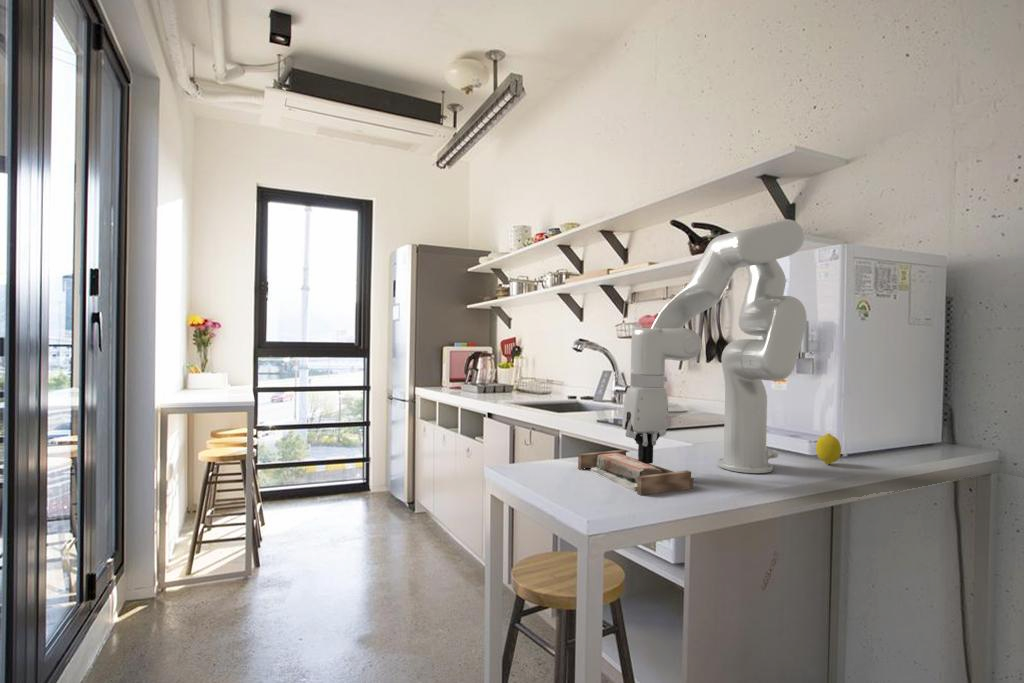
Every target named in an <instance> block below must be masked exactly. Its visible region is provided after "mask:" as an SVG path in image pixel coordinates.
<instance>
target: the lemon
mask: <svg viewBox="0 0 1024 683" xmlns="http://www.w3.org/2000/svg"><path fill="white" fill-rule="evenodd" d="M815 451H816V452H815V453H816V456H817V457H818V458H819V459H820V461H822V462H824V464H826V465H827V464H830V465H832V463H833V464H834V463H835V462H837V461H838V460H839V459H840V457H841V454H842V447H841V443H840V441H839V439H838V438H836V437H835V436H833V435H831V433H826V434H824V435H822V436H820V437H819V438H818V439H817V441H816V444H815Z"/></svg>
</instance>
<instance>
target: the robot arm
mask: <svg viewBox="0 0 1024 683" xmlns="http://www.w3.org/2000/svg"><path fill="white" fill-rule="evenodd" d="M804 241H805V232H804V229H803V227H802V226H801V224H799V223H798V222H797V221H796V220H793V219H788V218H786V219H780V220H777V221H772V222H769V223H764V224H760V225H755V226H752V227H749V228H745V229H741V230H737V231H733V232H729V233H724V234H720V235H718V236H716V237H714V238H713V239H712V240H711V241H710V242H709V243H708V244H707V246H706V248H705V250H704V252H703V254H702V256H701V257H700V259H699V261H698V263H697V264H696V267H695V269H694V270H693V272H692V275H691V276H690V278H689V280H688V281H687V283H686V285H685V286H684V287H683V288H682V289H681V290H680V291H679V292H677V294H675V295H674V297H672V299H671V300H670V301H669V302H667V304H666V305H664V307H663V308H662V309H661V310H660V311H659V313H658V315H657V316H656V318H655V319H654V322H653V323H652V326H651V327H644V328H643V327H639V328H635V329H634V330H632V332H631V344H630V346H631V347H630V348H631V349H630V351H631V352H630V386H629V387H627V389H626V391H625V392H626V393H625V396H624V402H623V409H622V412H623V413H622V429H623V430H626V431H625V437H626V438H630V439H633V440H634V442H635V443H636V444H637V445H638V447H637V449H638V450H637V451H638V452H637V458H638V459H637V460H638V461H640V462H642V463H645V464H653V463H654V446H656V445H657V441H658V439H659V438H661V437H664V436H666V434H667V429H668V427H669V400H668V394H667V389H666V388H665V383H667V381H668V379H667V377H666V376H665V374H666V371H665V370H666V360H671V361H679V362H681V361H682V362H685V361H690V360H693V359H694V358H696V357H698V355H699V354H700V353H701V351H702V348H703V347H702V346H703V341H702V339H701V337H700V335H699V334H698V333H697V332H696V331H694V330H693V329H689V328H685V327H684V326H685V325H687V323H688V322H689V321H690V320H692V319H693V318H694V317H696V316H697V315H700V314H701V313H704V312H705V311H706V310H707V311H708V310H709V309H710V308H713V307H714V306H715V305H717V304H718V303H719V302H720V301H721V300H722V298H723V296H724V294H725V292H726V291H727V288H728V287H729V284H730V282H731V280H732V278H733V276H734V274H736V271H737V270H738V269H739V268H746V271H747V273H748V280H747V286H746V291H745V294H744V297H743V302H742V304H741V307H740V312H739V317H738V327H739V328H740V330H741V331H742V333H744V334H745V335H748V336H756V337H765V339H758V338H756V339H755V338H754V339H753V338H749V339H748V338H746V339H743V338H742V339H737V340H733V341H731V342H729V343H728V344H727V345H726V346H725V347H724V349H723V351H722V353H721V359H720V360H721V368H722V373H723V378H724V379H723V380H724V425H723V426H724V427H723V428H724V430H723V431H724V435H723V436H724V437H723V438H724V439H723V457H720V458H717V461H716V464H717V465H716V466H718V467H719V468H722V469H724V470H727V471H732V472H738V473H744V474H768V473H771V472H772V471H773V470H774V466H773V464H772V463H770V462H769V460H770V459H776V458H778V457H779V452H778V451H777V450H775V449H771V450H769V449H767V432H768V430H767V427H768V426H767V422H768V421H767V420H768V419H767V418H768V394H767V390H766V387H765V384H764V382H763V381H771V382H777V381H784V380H785V379H787V378H788V377H789V376H790V375H791V374H792V372H793V371H794V369H795V367H796V364H797V361H798V356H799V355H800V354H799V353H800V349H801V346H802V342H803V339H804V336H805V331H806V327H807V322H808V321H807V318H808V317H807V310H806V308H805V305H804V304H803V302H802V301H801V300H800V299H798V298H797V297H795V296H793V295H792V296H791V295H784V293H785V290H786V283H787V281H786V278H787V277H786V275H785V272H784V270H783V268H782V267H781V265H780V263H779V262H778V259H782V258H786V257H789V256H792V255H794V254H796V253H797V252H798V251H799V250H800V249H802V246H803V243H804Z"/></svg>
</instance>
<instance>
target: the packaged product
mask: <svg viewBox="0 0 1024 683" xmlns="http://www.w3.org/2000/svg"><path fill="white" fill-rule="evenodd" d="M627 456H628V455H626V456H625V455H622V454H619V453H610V454H601V455H598V458H597V466H596V467H593V466H592V467H591V469H590V472H591V471H593V472H596V473H598V474H600V475H602V476H604V477H606V478H608V479H609V480H608V479H607V480H608V481H610V480H611V481H610V482H612V481H613V482H612V483H614V482H615V483H614V484H617V483H618V484H617V485H619V484H620V486H621V485H622V486H621V487H623V488H625V489H628V490H630V491H632V490H633V491H632V492H637V482H638V476H645V475H653V474H662V471H661V470H660V469H657V468H655V467H653V466H650V465H648V464H645V463H642V462H640V461H637V460H638V459H637V460H635V459H636V458H634V459H632V458H633V457H631V458H630V456H628V457H627ZM593 472H592V473H593ZM598 474H597V475H598ZM600 475H599V476H600ZM602 476H601V477H602ZM604 477H603V478H604ZM606 478H605V479H606Z"/></svg>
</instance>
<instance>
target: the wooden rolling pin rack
mask: <svg viewBox="0 0 1024 683" xmlns="http://www.w3.org/2000/svg"><path fill="white" fill-rule="evenodd" d="M610 453H619V454H622V455H625V456H627V457H630V456H629V455H627V450H625V449H620V450H619V449H618V450H617V449H616V450H608V451H598V452H589V453H588V452H587V453H578V459H577V461H578V462H577V469H578V468H579V469H578V470H580V469H584V468H591V467H592V466H593V467H596V466H597V458H598V455H601V454H610ZM630 458H632V459H635V460H637V461H638V459H637V458H634V457H630ZM648 465H650V466H653V467H655V468H657V469H660V470H661V471H662V474H653V475H645V476H638V482H637V491H636V492H637V495H640V496H647V495H654V494H660V493H667V492H675V491H683V490H688V489H694V488H695V478H694V477H692V471H691V470H687V469H686V470H681V471H680V470H679V471H673V470H670V469H667V468H664V467H661V466H657V465H655V464H653V463H649V464H648ZM584 470H585V469H584ZM646 494H647V495H646Z"/></svg>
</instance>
